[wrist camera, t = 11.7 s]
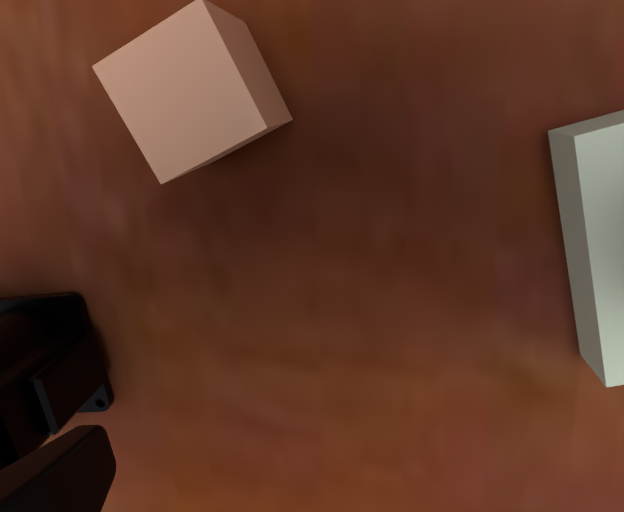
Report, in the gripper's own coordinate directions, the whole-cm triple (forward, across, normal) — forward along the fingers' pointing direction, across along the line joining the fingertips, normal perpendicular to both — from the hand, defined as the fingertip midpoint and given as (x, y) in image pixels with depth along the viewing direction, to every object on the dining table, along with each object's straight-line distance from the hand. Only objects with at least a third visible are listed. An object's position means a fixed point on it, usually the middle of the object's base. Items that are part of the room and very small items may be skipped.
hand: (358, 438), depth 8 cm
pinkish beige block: (+13, +5, -6) cm, 15 cm away
